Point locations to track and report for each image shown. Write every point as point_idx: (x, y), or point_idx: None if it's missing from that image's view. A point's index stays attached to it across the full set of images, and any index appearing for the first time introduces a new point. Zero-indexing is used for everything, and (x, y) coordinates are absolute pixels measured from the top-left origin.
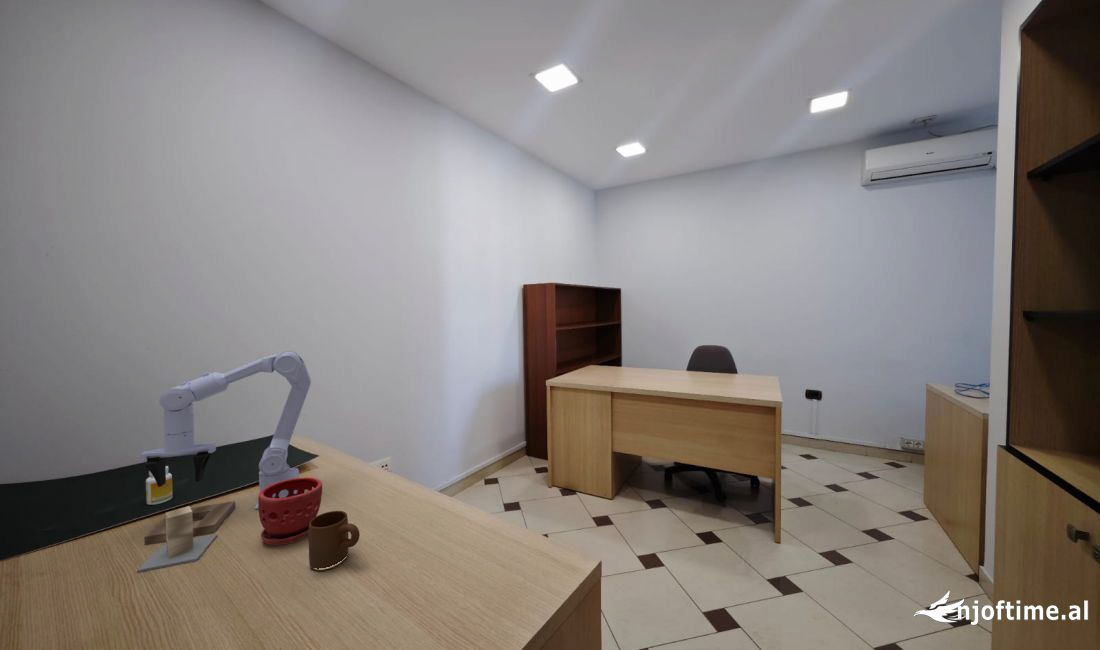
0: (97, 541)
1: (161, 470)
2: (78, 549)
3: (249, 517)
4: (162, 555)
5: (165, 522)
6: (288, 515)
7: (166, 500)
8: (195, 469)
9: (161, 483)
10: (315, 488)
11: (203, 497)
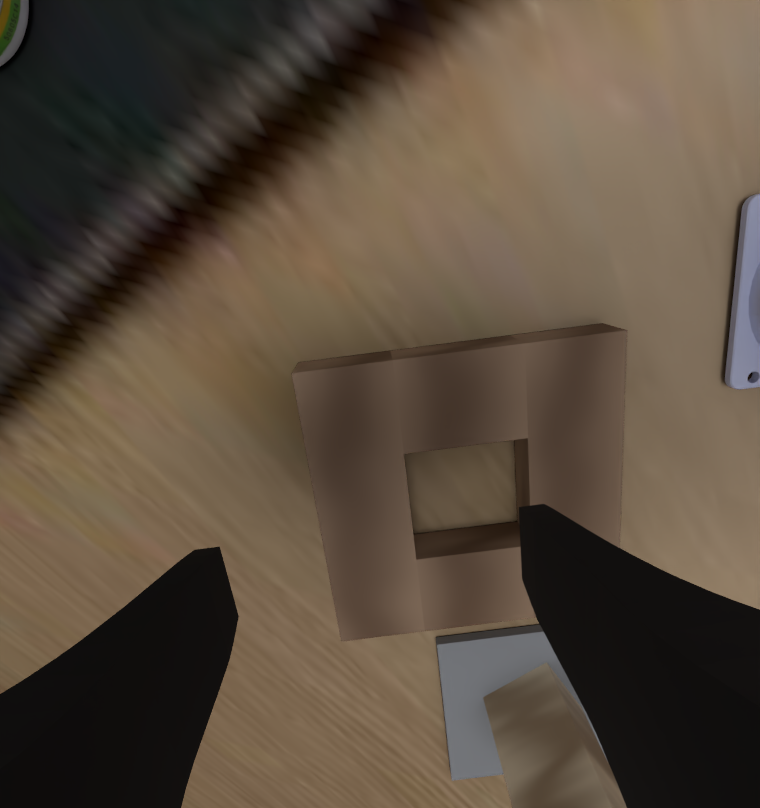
0: (80, 527)
1: (152, 756)
2: (60, 577)
3: (715, 469)
4: (483, 718)
5: (345, 522)
6: None
7: (24, 28)
8: (603, 741)
9: (227, 631)
10: None
11: (287, 33)
